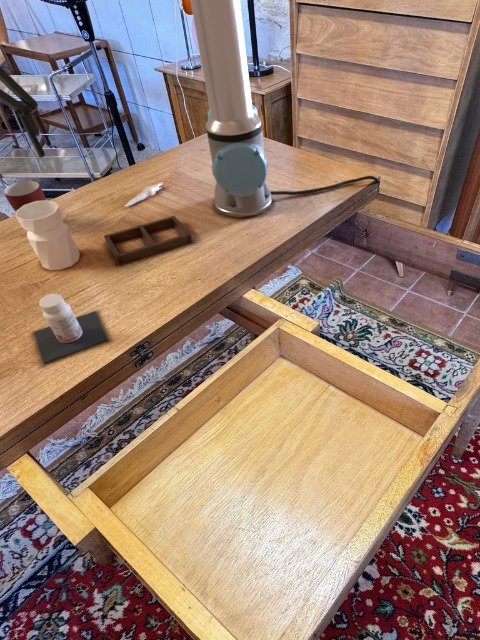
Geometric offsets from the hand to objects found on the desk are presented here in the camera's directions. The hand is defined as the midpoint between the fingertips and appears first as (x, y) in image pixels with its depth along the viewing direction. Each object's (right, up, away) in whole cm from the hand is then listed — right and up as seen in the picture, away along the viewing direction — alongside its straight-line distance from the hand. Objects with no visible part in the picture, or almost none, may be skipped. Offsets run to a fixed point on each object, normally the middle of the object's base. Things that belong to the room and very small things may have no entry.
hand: (5, 165), depth 81 cm
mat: (+10, -31, +5) cm, 33 cm away
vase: (-2, -10, +22) cm, 25 cm away
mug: (-13, +1, +32) cm, 35 cm away
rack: (+18, -5, +26) cm, 32 cm away
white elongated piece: (+11, +13, +41) cm, 45 cm away
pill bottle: (+10, -31, +5) cm, 32 cm away
